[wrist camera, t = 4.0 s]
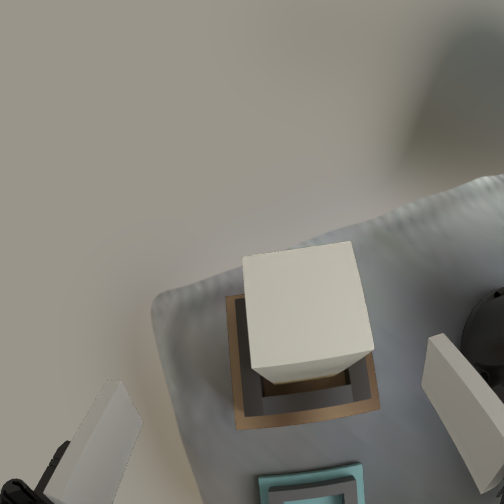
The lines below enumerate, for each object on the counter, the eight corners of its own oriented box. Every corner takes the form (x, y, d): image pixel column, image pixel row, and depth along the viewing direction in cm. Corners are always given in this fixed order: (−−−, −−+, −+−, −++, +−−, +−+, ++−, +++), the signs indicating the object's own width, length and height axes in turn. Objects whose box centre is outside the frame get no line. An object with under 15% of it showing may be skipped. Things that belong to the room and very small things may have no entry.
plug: (324, 322, 22) (350, 240, 11) (333, 376, 20) (374, 349, 9) (269, 330, 22) (241, 256, 11) (275, 385, 20) (251, 368, 10)
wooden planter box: (340, 313, 32) (361, 266, 21) (354, 406, 27) (388, 409, 16) (245, 327, 32) (219, 287, 22) (254, 421, 28) (230, 432, 17)
